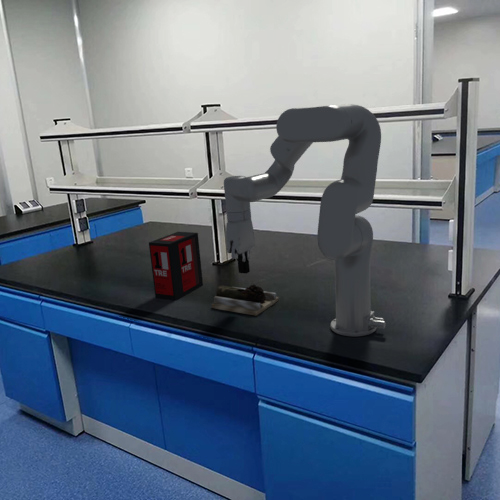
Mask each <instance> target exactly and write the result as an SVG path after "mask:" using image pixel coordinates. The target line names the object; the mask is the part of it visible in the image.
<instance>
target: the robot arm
mask: <svg viewBox="0 0 500 500" xmlns="http://www.w3.org/2000/svg"><path fill="white" fill-rule="evenodd" d="M277 118H278V119H277V121H276V126H275V127H276V128H275V129H276V133H277V137H276V138H275V140H274V141H273V142H272V143H271V145H270V148H269V152H270V155H271V156H272V158H273V159H274V160H273V162H272V164H271V165H270V166H269V168H268V169H267V170H266V171H265V172H264V173H259V174H258V173H257V174H254V175H251V176H250V175H249V176H244V175H233V176H232V175H231V176H228V177H225V178H224V180H223V190H224V191H223V192H224V198H225V199H224V200H225V209H226V211H225V213H226V220H227V221H226V226H225V245H226V253H228V254H231V259H235V260H236V262H237V267H238V268H237V269H238V273H239V274H245V275H247V274H249V273H250V271H251V270H250V257H251V256H250V254H251V252H252V251H253V250H254V247H255V245H256V244H255V243H256V240H255V232H254V230H255V229H254V226H253V221H252V211H251V203H254V202H259V201H262V200H265V199H269V198H272V197H274V196H276V195H277V194H278V193H279V192H280V191H281V190H282V189H283V188H284V187H285V186H286V185H287V183H288V182H289V181H290V179H291V177H292V175H293V173H294V170H295V165H296V164H297V162H298V161H299V160H300V158H301V157H302V156H303V155H304V154H305V152H306V151H307V150H308V149H309V148H310V147H311V145H313V143H330V142H339V141H343V140H348V147H347V149H346V151H345V154H344V156H343V157H344V158H343V165H342V167H343V168H342V173H341V177H340V179H337V180H335V181H333V182H331V183H330V184H328V185H327V187H326V188H325V189H324V191H323V193H322V196H321V198H320V206H319V213H318V215H319V216H318V224H317V225H318V226H317V233H316V234H317V236H316V238H317V247H318V249H319V251H320V253H321V254H322V255H323V256H324V257H325V258H326V259H328V260H331V261H334V296H335V302H334V303H335V318H334V319H332V320H331V322H330V330H331V331H333V332H334V333H335V334H338V335H341V336H345V337H355V338H356V337H364V336H368V335H371V334H373V333H375V332H376V331H377V330H378V329H377V328H379V329H386V325H387V324H386V323H387V322H386V321H385V318H383V317H376V316H375V311H374V310H373V311H372V309H371V308H372V307H371V306H372V305H371V303H372V302H371V293H372V292H371V274H372V273H371V261H372V260H371V259H372V248H373V243H374V231H373V227H372V225H371V223H370V222H369V221H368V219H367V218H366V217H364V216H361V215H357V214H360V213H362V212H364V211H366V210H367V209H369V208H370V207H371V206H372V204H373V200H374V198H375V197H374V195H375V187H376V181H377V173H378V163H379V158H380V152H381V151H380V150H381V144H382V130H381V125H380V123H379V120H378V118H377V117H376V116H375V114H374V113H373V112H371V110H369V109H368V108H366V107H364V106H362V105H358V104H353V103H348V104H346V103H345V104H336V105H334V104H333V105H321V106H315V107H313V106H312V107H294V108H289V109H286V110H284V111H283V112H282V113H280V116H278V117H277Z"/></svg>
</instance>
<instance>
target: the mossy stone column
mask: <svg viewBox="0 0 500 500" xmlns="http://www.w3.org/2000/svg"><path fill="white" fill-rule="evenodd" d="M234 287H235V286H228V285H219V286H218V287H217V288H216V291H215V296H219V297H225V298H232V299H238V300H245V301H251V302H257V303H260V304H263V303H265V300H266V296H265V293H264V291H265V290H264V289H263V288H262V287H260V286H257V285H256V284H251V285H249V286H247V287H246V288H245V290H244V289H240V288H241V287H238V288H234Z"/></svg>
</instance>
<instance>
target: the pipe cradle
mask: <svg viewBox="0 0 500 500" xmlns="http://www.w3.org/2000/svg"><path fill="white" fill-rule="evenodd" d="M233 287H234V288H240V289H244V290H245V289H246V288H244V287H239V286H238V287H237V286H233ZM263 291H264V293H265V296H266V300H265V303H263V304H260V303H257V302H251V301H245V300H238V299H232V298H225V297H219V296H216V295H215V296H214V297H213V303H212V304H211V308H212V309H216V310H221V311H228V312H233V313H239V314H245V315H250V316H255V317H256V316H259V315H260V314H261V313H262V312H264V311H266V310H267V309H269V308H270V307H272V306H273V305H275V304H276V303H277V302H279V301H280V300H279V296H277V293H276V292H272V291H268V290H267V291H266V290H263Z"/></svg>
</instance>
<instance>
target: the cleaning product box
mask: <svg viewBox="0 0 500 500" xmlns="http://www.w3.org/2000/svg"><path fill="white" fill-rule="evenodd" d="M148 248H149V256H150V257H149V258H150V264H151V265H150V266H151V271H152V279H153V286H154V287H153V288H154V295H155V298H156V299H160V300H161V299H162V300H167V301H168V300H169V301H177V300H180V299H182V298H183V297H186V296H187V295H189V294H190V293H192V292H194V291H196V290H197V289H200V288H201V287H203V286H204V281H203V273H202V263H201V252H200V251H201V250H200V242H199V233H198V232H192V231H191V232H189V231H176V232H174V233H169V235H168V234H167V235H166V236H163V237H160V238H157V239H155V240H151V241H150V242H149V241H148Z"/></svg>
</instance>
